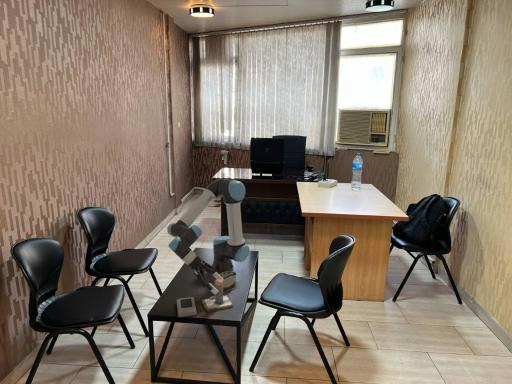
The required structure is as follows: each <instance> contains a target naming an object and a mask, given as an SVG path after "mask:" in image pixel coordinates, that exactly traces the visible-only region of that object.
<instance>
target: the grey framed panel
mask: <svg viewBox="0 0 512 384" xmlns="http://www.w3.org/2000/svg"><path fill="white" fill-rule="evenodd" d="M176 307H177V317H178V318H183V317H184V318H185V317H191V316H192V317H193V316H197V314H198V313H197V307H196V303H195V298H194V297H192V296H191V297H190V296H189V297H183V298H178V299H176Z"/></svg>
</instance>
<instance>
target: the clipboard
mask: <svg viewBox="0 0 512 384" xmlns="http://www.w3.org/2000/svg"><path fill="white" fill-rule="evenodd" d="M201 303H202V305H203V308H204V309H205V311H206V313H211V312H217V311H221V310H225V309H229V308H234V304H233V302H232V301H231V299H230V297H229V296H228V295H227V294H226V295H224V294H223V303H222V304H216V303H215V295H212V296H209V297H208V298H205V299H201Z"/></svg>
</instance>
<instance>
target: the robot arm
mask: <svg viewBox="0 0 512 384" xmlns="http://www.w3.org/2000/svg"><path fill="white" fill-rule="evenodd" d="M245 196H246V187H245V184H243V182H242V181H239V180H235V179H227V178H217V179H216V180H214V181H212V182H211V183H210V184H208V185H207V186H206V187H205V188H204V189H203V193H202V194H201V195H200V196H199V197H198V198H197V199H196V200H195V202H194V203H193V204H191V206H190V207H189V208H188V209H187V210H185V211H186V212H184V213H183V214H182V216H181V217H179V219H178V220H177V221H176V222H173V223H172V222H171V223H169V225H168V227H167V230H166V231H167V234H168V235H170V236H172V237H173V239H172V240H171V241H170V242H169V243H168V248H169V249H170V250H171V251H172V252H173V253H174V254H175V255H176V256H177V257H178V258H180V260H181V261H182V262H183V263H185V265H187V266H188V268H189V269H190V270H192V271H193V270H195V271H193V274H194V275H195V276H196V278H197V280H198V282H199V283H200V285H201V286H202V288H203V289H204V288H207V289H208V290H209V291H210V292H211V293H212V294H213V296H215V294H216V293H217V292H218V290H217V289H216V288H215V285H214V284H212V283H211V282H209V280H208V279H207V276H206V273H209V274H211V275H212V277H214V278H215V280H216V279H222V280H224V279H223V278H222V277H221V276H220V274H221V273H222V272H225V271H234V264H233V261H234V262H238V263H242V262H245V261H246V260H247V259H248V257H249V255H250V249H251V248H250V247H249V245H247V244H246V240H245V238H244V236H243V225H242V213H241V203H242V202H243V199H244V198H245ZM220 197H221V198H223V199H222V200H223V203H224V204H225V206H226V215H227V217H226V218H227V227H228V235H222V236H221V235H220V236H217V237H215V238H214V239H213V242H212V247H213V251H212V253H213V260H212V262H211V263H212V264H210V263H207V262H206V261H205V260H204V259H202V258H201V257H199V255H197V253H196V252H195V251H193V250H192V248H191V247H192V245H194V243H196V241H197V240H199V238H200V237H201V236H202V234H203V230H202V229H201V228H200V226H199V225H197V224H194V222H195V221H196V220H197V219H198V218H199V217H200V216H201V214H202V213H203V212H205V210H206V209H207V208H208V207H209V206H210V204H211V203H212V202H213V201H216V200H217V199H218V198H220Z"/></svg>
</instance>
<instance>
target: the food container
mask: <svg viewBox="0 0 512 384" xmlns="http://www.w3.org/2000/svg"><path fill="white" fill-rule="evenodd" d="M219 275H220V276H221V277H222V278H223V279H224V280H223V294H224V293H227V292H228V291H231V290H233V289H235V287H236V281H237V280H236V277H237V275H238V274H237V272H236V271H234V270H233V271H225V272H222V273H221V274H219Z"/></svg>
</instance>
